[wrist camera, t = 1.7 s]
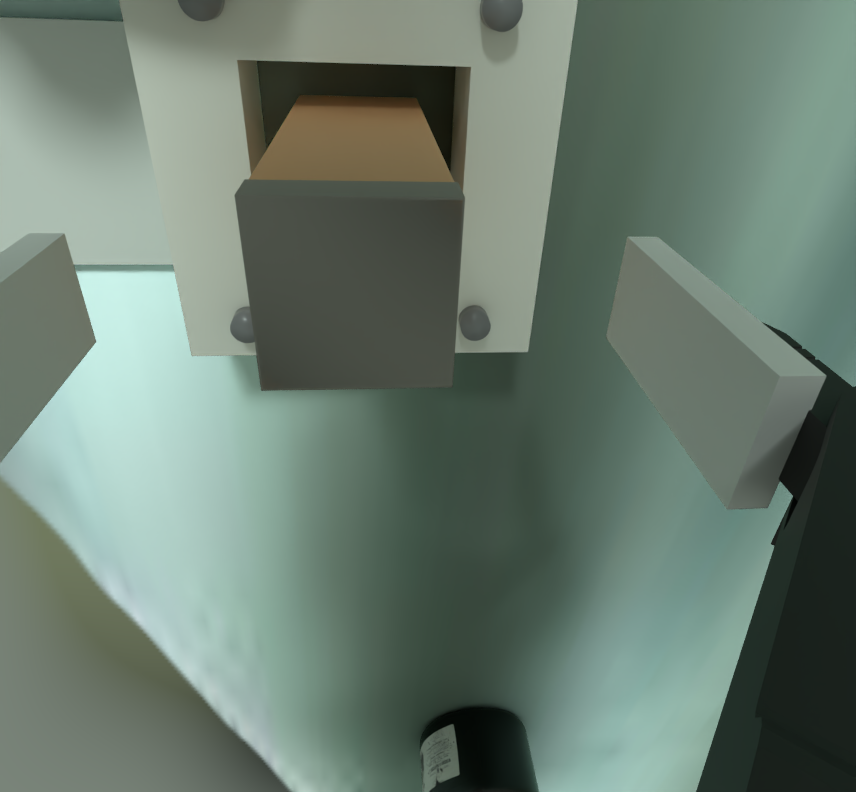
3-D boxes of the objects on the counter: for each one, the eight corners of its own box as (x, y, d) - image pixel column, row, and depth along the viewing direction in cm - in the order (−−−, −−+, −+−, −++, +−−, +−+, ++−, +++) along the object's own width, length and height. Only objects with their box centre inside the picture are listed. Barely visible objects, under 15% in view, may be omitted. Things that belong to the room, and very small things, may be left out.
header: (145, -65, 21) (93, -77, 17) (551, -46, 22) (593, -53, 18) (212, 313, 28) (187, 366, 24) (509, 311, 30) (532, 361, 26)
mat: (-139, 12, 21) (-147, 12, 21) (132, 21, 22) (128, 22, 22) (-39, 260, 26) (-44, 264, 26) (179, 261, 27) (177, 264, 27)
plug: (298, 93, 24) (234, 195, 12) (417, 96, 24) (464, 197, 13) (307, 212, 26) (261, 390, 15) (414, 213, 27) (452, 387, 15)
